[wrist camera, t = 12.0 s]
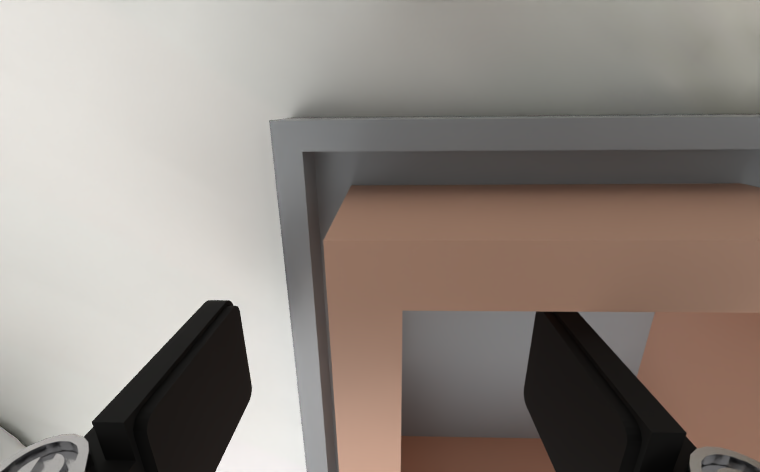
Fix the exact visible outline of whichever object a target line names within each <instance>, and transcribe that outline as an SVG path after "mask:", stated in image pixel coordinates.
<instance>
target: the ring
mask: <svg viewBox="0 0 760 472" xmlns="http://www.w3.org/2000/svg"><path fill="white" fill-rule="evenodd" d="M323 245H324V260H325V274H326V289H327V303H328V318H329V332H330V347H331V362H332V376H333V391H334V405H335V420H336V435H337V449H338V464H339V472H555V469H554V467H553V465H552V463H551V460H550V458H549V456H548V454H547V451H546V449H545V447H544V445H543V443H542V440H541V438H486V437H428V436H401V401H402V311H541V312H655V314H654V317H653V321H652V324H651V328H650V332H649V335H648V339H647V342H646V346H645V349H644V353H643V356H642V360H641V364H640V367H639V371H638V374H637V378H638V379H639V380H640V382H641V383H642V384H643V385H644V386H645V387H646V388H647V389H648V390H649V391H650V393H651V394H652V395H653V396H654V397H655V398H656V399H657V400H658V401H659V403H660V404H661V405H662V406H663V407H664V408H665V409H666V410H667V411H668V413H669V414H670V415H671V416H672V417H673V418H674V419H675V420H676V421H677V423H678V424H679V425H680V426H681V427H682V428H683V429H684V430H685V431H686V433H687V434H686V437H687V438H688V439H689V440H690V441H691V442H692V443H693V444H694V446H695V447H696V448H702V447H706V446H709V447H721V448H724V449H728V450H732V451H735V452H738V453H740V454H743V455H745V456H747V457H750V458H752V459H754V460H756V461H758V462H759V463H760V187H755V186H751V185H746V184H742V183H721V184H519V185H351V187H350V189H349V191H348V193H347V195H346V196H345V198H344V200H343V202H342V204H341V206H340V208H339V210H338V212H337V214H336V216H335V218H334V220H333V222H332V224H331V226H330V228H329V230H328V232H327V234H326V236H325V238H324V240H323Z"/></svg>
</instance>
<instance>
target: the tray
mask: <svg viewBox="0 0 760 472" xmlns="http://www.w3.org/2000/svg"><path fill="white" fill-rule="evenodd" d="M269 122H270V131H271V140H272V150H273V159H274V169H275V178H276V187H277V197H278V206H279V215H280V225H281V234H282V243H283V253H284V262H285V272H286V281H287V290H288V300H289V309H290V318H291V328H292V337H293V346H294V356H295V365H296V375H297V384H298V393H299V403H300V412H301V421H302V431H303V440H304V449H305V459H306V468H307V472H339V464H338V449H337V435H336V420H335V405H334V391H333V376H332V362H331V347H330V332H329V318H328V303H327V289H326V274H325V260H324V245H323V240H324V238H325V236H326V234H327V232H328V230H329V228H330V226H331V224H332V222H333V220H334V218H335V216H336V214H337V212H338V210H339V208H340V206H341V204H342V202H343V200H344V198H345V196H346V195H347V193H348V191H349V189H350V187H351V185H519V184H721V183H742V184H746V185H751V186H755V187H760V114H714V115H596V116H477V117H358V118H286V119H278V120H270V121H269ZM578 313H579V314H580V315H581V316H582V317H583V318H584V319H585V321H586V322H587V323H588V324H589V325H590V326H591V327H592V328H593V329H594V331H595V332H596V333H597V334H598V335H599V336H600V337H601V338H602V339H603V340H604V342H605V343H606V344H607V345H608V346H609V347H610V348H611V349H612V350H613V352H614V353H615V354H616V355H617V356H618V357H619V358H620V359H621V360H622V362H623V363H624V364H625V365H626V366H627V367H628V368H629V369H630V370H631V372H632V373H633V374H634V375H635V376H636V377H637V374H638V371H639V367H640V364H641V360H642V356H643V353H644V349H645V346H646V342H647V339H648V335H649V332H650V328H651V324H652V321H653V317H654V314H655V312H578ZM535 314H536V311H402V401H401V436H428V437H486V438H540V436H539V434H538V431H537V429H536V427H535V425H534V422H533V420H532V418H531V416H530V414H529V411H528V409H527V407H526V404H525V401H524V384H525V378H526V372H527V365H528V359H529V352H530V346H531V340H532V333H533V327H534V320H535Z"/></svg>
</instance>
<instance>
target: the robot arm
mask: <svg viewBox="0 0 760 472" xmlns="http://www.w3.org/2000/svg"><path fill="white" fill-rule="evenodd" d="M251 392H252V385H251V379H250V372H249V366H248V360H247V354H246V347H245V341H244V335H243V329H242V322H241V316H240V311H239V308H238V307H237V306H233V304H232V302H231V301H223V300H209V301H206V302H205V303H204V304H203V305H202V306H201V307H200V308H199V309H198V310H197V312H196V313H195V314H194V315H193V316H192V317H191V318H190V319H189V320H188V321H187V322H186V323H185V324H184V325H183V326H182V327H181V328H180V329H179V331H178V332H177V333H176V334H175V335H174V336H173V337H172V338H171V339H170V340H169V341H168V342H167V343H166V344H165V345H164V346H163V347H162V348H161V349H160V351H159V352H158V353H157V354H156V355H155V356H154V357H153V358H152V359H151V360H150V361H149V362H148V363H147V364H146V365H145V366H144V367H143V368H142V370H141V371H140V372H139V373H138V374H137V375H136V376H135V377H134V378H133V379H132V380H131V381H130V382H129V383H128V384H127V385H126V386H125V387H124V389H123V390H122V391H121V392H120V393H119V394H118V395H117V396H116V397H115V398H114V399H113V400H112V401H111V402H110V403H109V404H108V405H107V406H106V408H105V409H104V410H103V411H102V412H101V413H100V414H99V415H98V416H97V417H96V418H95V419H94V420H93V421H92V424H93V428H92V429H91V430H90V431H89V432H88V433H87V434H86V435H85V436H84V437H83V436H79V435H76V434H62V435H58V436H54V437H50V438H46V439H44V440H41V441H39V442H37V443H34V444H32V445H30V446H28V447H26V448H24V449H23V450H21V451H19V452H17V453H16V454H14V455H13V456H11V457H10V458H8V459H7V460H6V461H4V462H3V463H2V464H0V472H215V471H216V469H217V467H218V465H219V463H220V461H221V459H222V456H223V454H224V452H225V450H226V448H227V446H228V444H229V442H230V440H231V438H232V436H233V434H234V432H235V429H236V427H237V425H238V423H239V421H240V419H241V417H242V415H243V413H244V411H245V409H246V407H247V405H248V403H249V400H250V397H251ZM524 401H525V404H526V407H527V409H528V411H529V414H530V416H531V418H532V420H533V422H534V425H535V427H536V429H537V431H538V434H539V436H540V438H541V440H542V443H543V445H544V447H545V449H546V451H547V454H548V456H549V458H550V460H551V463H552V465H553V467H554V469H555V472H760V463H759V462H758V461H756V460H754V459H752V458H750V457H747V456H745V455H743V454H740V453H738V452H735V451H732V450H728V449H724V448H721V447H709V446H706V447H702V448H696V447H695V446H694V444H693V443H692V442H691V441H690V440H689V439H688V438H687V437H686V434H687V433H686V431H685V430H684V429H683V428H682V427H681V426H680V425H679V424H678V423H677V421H676V420H675V419H674V418H673V417H672V416H671V415H670V414H669V413H668V411H667V410H666V409H665V408H664V407H663V406H662V405H661V404H660V403H659V401H658V400H657V399H656V398H655V397H654V396H653V395H652V394H651V393H650V391H649V390H648V389H647V388H646V387H645V386H644V385H643V384H642V383H641V382H640V380H639V379H638V378H637V377H636V376H635V375H634V374H633V373H632V372H631V370H630V369H629V368H628V367H627V366H626V365H625V364H624V363H623V362H622V360H621V359H620V358H619V357H618V356H617V355H616V354H615V353H614V352H613V350H612V349H611V348H610V347H609V346H608V345H607V344H606V343H605V342H604V340H603V339H602V338H601V337H600V336H599V335H598V334H597V333H596V332H595V331H594V329H593V328H592V327H591V326H590V325H589V324H588V323H587V322H586V321H585V319H584V318H583V317H582V316H581V315H580V314H579V313H578V312H541V311H536V314H535V320H534V327H533V333H532V340H531V346H530V352H529V359H528V365H527V372H526V378H525V384H524Z"/></svg>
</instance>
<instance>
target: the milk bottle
mask: <svg viewBox="0 0 760 472" xmlns="http://www.w3.org/2000/svg"><path fill="white" fill-rule="evenodd" d="M24 448H26V447H25V446H24V445H23V444H22V443H21V442H20V441H19V440H18V439H17V438H16V437H14V436H13V435H11V434H10V433H9V432H7V431H6V430H5V429H3V428H2V427H0V464H2V463H3V462H4V461H6V460H7V459H8V458H10V457H11V456H13V455H14V454H16V453H17V452H19V451H21V450H23V449H24Z"/></svg>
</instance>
